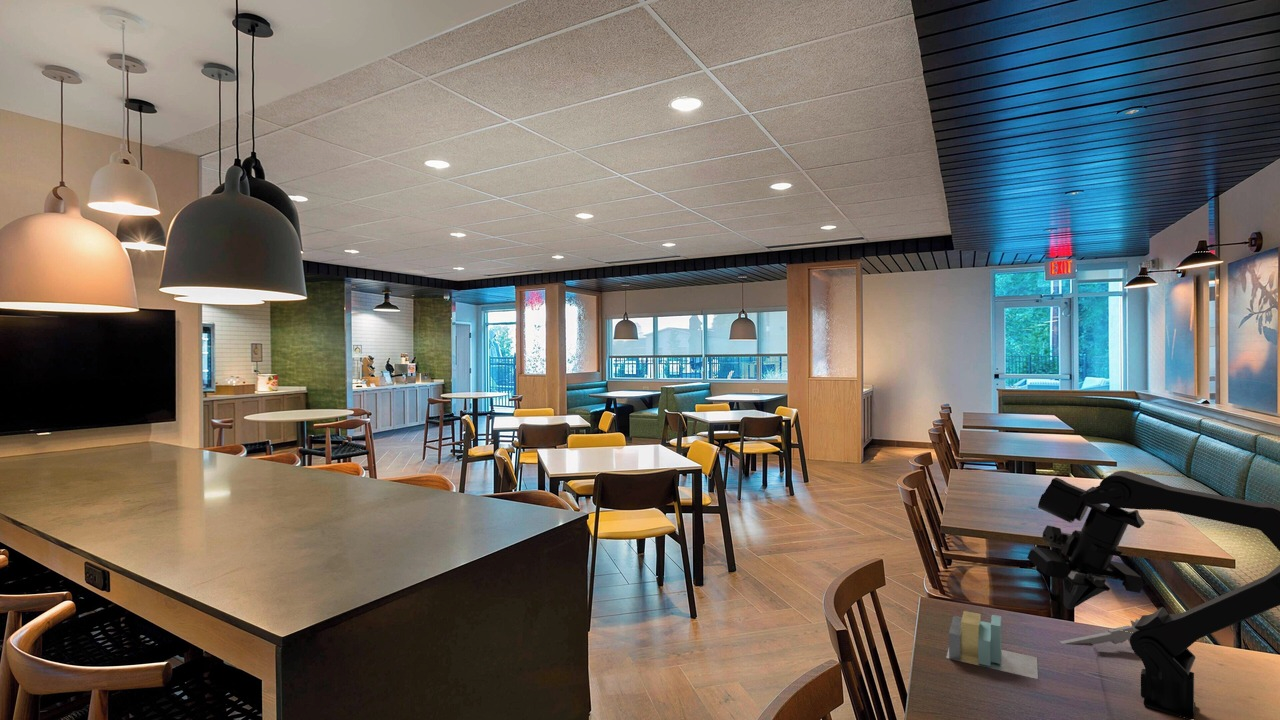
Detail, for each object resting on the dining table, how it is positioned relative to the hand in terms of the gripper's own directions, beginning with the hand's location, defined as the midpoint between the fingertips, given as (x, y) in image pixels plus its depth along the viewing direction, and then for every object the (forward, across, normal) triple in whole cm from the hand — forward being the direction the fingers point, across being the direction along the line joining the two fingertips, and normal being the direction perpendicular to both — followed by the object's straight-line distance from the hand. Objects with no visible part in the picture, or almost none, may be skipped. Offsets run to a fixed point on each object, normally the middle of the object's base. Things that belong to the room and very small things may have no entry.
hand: (1067, 607), depth 115 cm
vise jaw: (+14, +10, -1) cm, 17 cm away
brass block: (+15, +12, -2) cm, 20 cm away
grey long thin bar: (+12, -15, -5) cm, 20 cm away
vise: (+15, +9, 0) cm, 18 cm away
